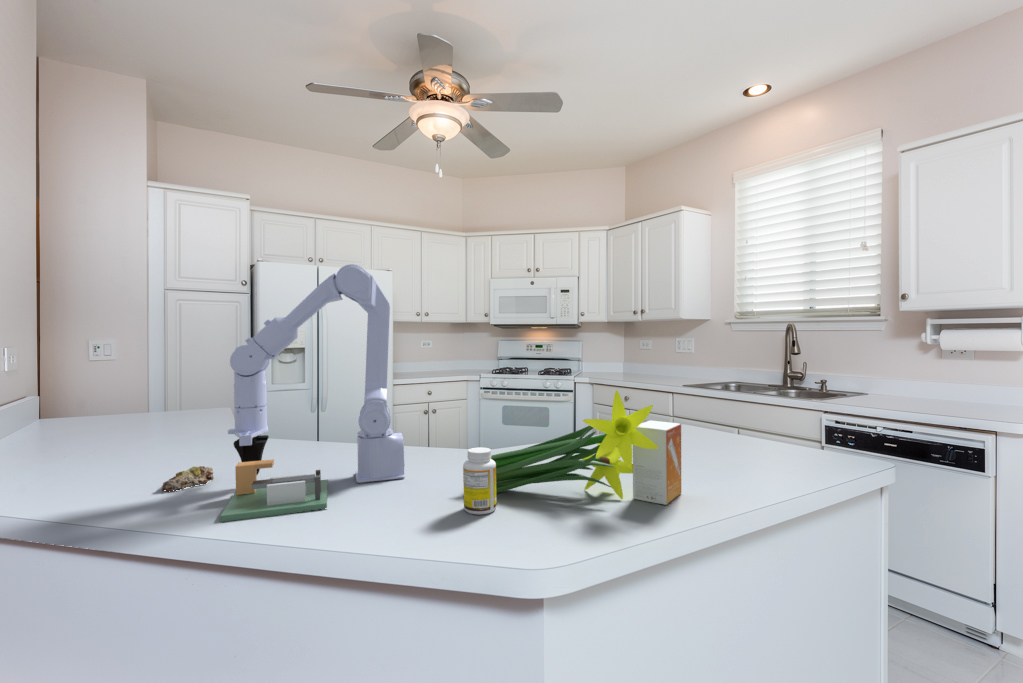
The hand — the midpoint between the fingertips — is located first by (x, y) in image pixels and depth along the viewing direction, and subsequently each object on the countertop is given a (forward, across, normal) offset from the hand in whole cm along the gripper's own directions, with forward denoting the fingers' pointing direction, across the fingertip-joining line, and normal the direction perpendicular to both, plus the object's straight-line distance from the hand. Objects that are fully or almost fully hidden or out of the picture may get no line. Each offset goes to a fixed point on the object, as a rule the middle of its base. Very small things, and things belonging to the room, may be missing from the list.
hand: (252, 474), depth 98 cm
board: (+2, +11, +6) cm, 13 cm away
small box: (+3, +34, +70) cm, 78 cm away
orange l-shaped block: (+1, +7, +1) cm, 7 cm away
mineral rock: (+3, -7, -13) cm, 15 cm away
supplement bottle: (+3, +29, +38) cm, 48 cm away
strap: (-1, +14, +7) cm, 16 cm away
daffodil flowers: (+3, +28, +54) cm, 60 cm away
